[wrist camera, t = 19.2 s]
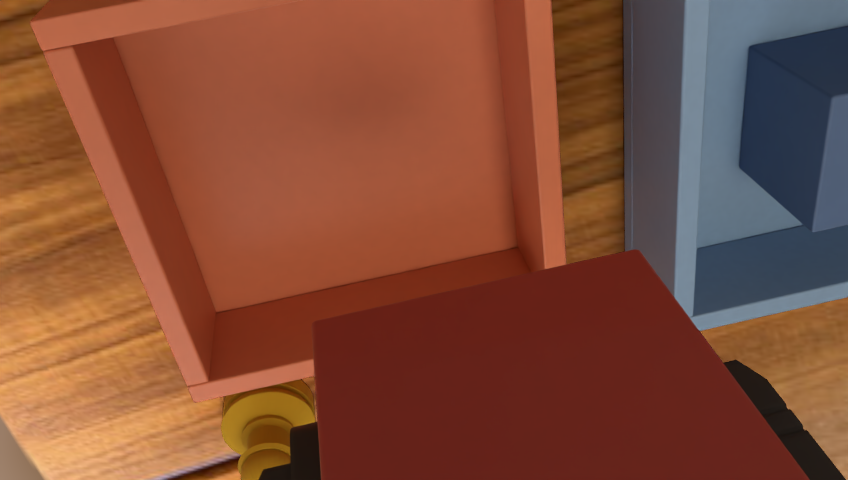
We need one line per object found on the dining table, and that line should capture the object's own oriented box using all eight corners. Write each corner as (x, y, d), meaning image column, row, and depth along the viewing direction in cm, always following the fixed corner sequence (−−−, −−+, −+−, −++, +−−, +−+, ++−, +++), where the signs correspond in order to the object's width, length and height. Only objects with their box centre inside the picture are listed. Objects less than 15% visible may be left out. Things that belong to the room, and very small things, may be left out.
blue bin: (622, -64, 26) (686, -30, 22) (1004, -138, 27) (1134, -120, 23) (624, 267, 33) (673, 338, 29) (922, 201, 34) (1010, 261, 30)
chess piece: (293, 358, 33) (296, 447, 29) (327, 420, 35) (335, 510, 31) (206, 389, 33) (197, 481, 29) (245, 448, 35) (241, 542, 31)
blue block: (748, 45, 28) (832, 96, 24) (879, 18, 28) (986, 64, 24) (738, 168, 30) (811, 234, 26) (858, 142, 31) (950, 203, 27)
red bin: (69, -24, 24) (28, 21, 20) (502, -107, 24) (547, -79, 20) (204, 320, 31) (193, 404, 27) (532, 248, 32) (570, 319, 28)
